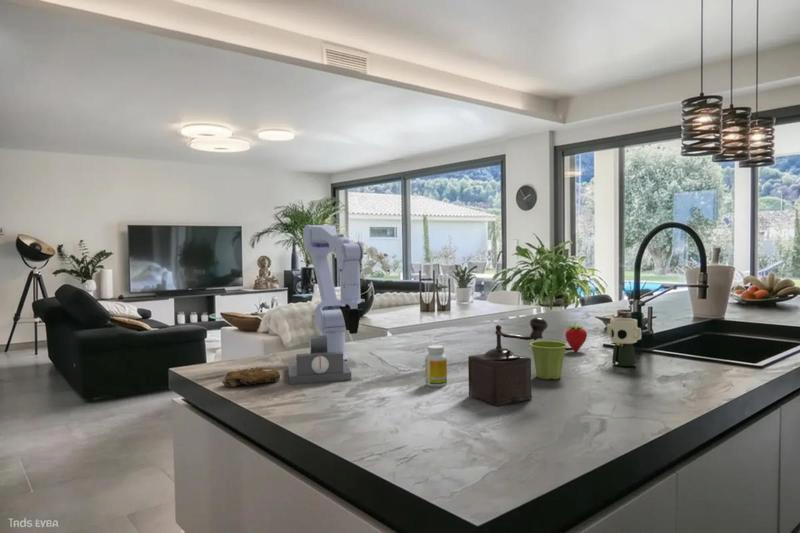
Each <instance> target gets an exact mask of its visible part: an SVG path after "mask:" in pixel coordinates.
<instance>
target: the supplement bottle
mask: <svg viewBox="0 0 800 533" xmlns="http://www.w3.org/2000/svg"><path fill="white" fill-rule="evenodd" d="M427 352H428V354H426V355H425V358H424V359H425V360H424V362H425V363H424V364H425V367H424V368H425V370H424V371H425V372H424V374H425V385H426V386H427V387H432V388H441V387H445V386H446V385H447V384H448V365H447V364H448V362H447V361H448V357H447V355H446V354H444V352H445V346H444V345H442V344H438V345H437V344H435V345H434V344H432V345H428V346H427Z"/></svg>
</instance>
